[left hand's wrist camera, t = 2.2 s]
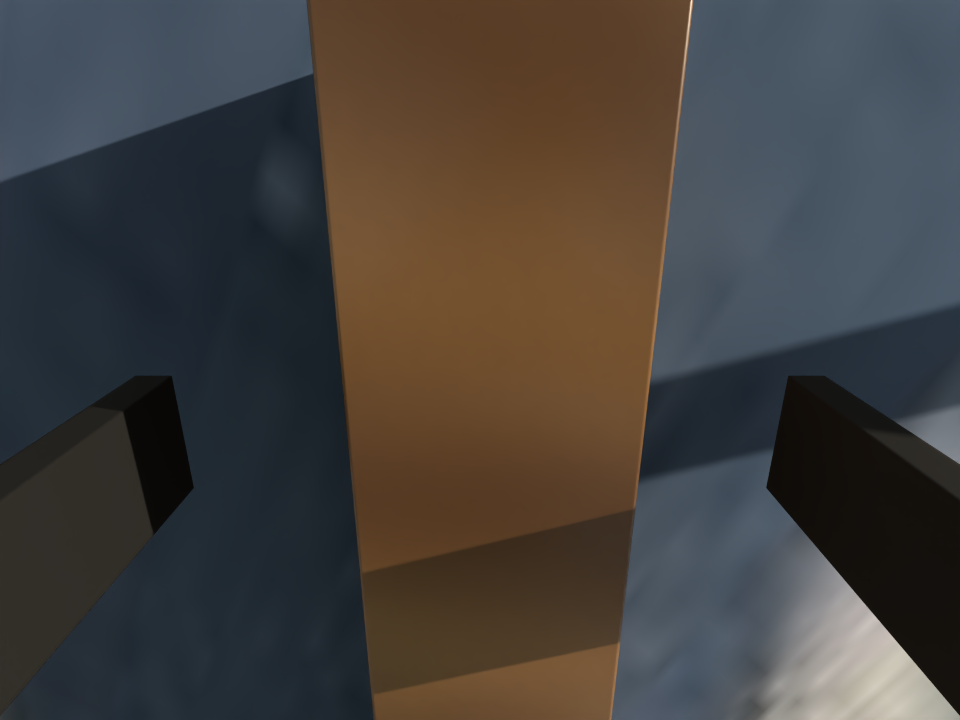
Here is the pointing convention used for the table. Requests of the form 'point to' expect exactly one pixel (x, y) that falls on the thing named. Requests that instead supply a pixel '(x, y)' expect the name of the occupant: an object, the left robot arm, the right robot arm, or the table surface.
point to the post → (496, 331)
